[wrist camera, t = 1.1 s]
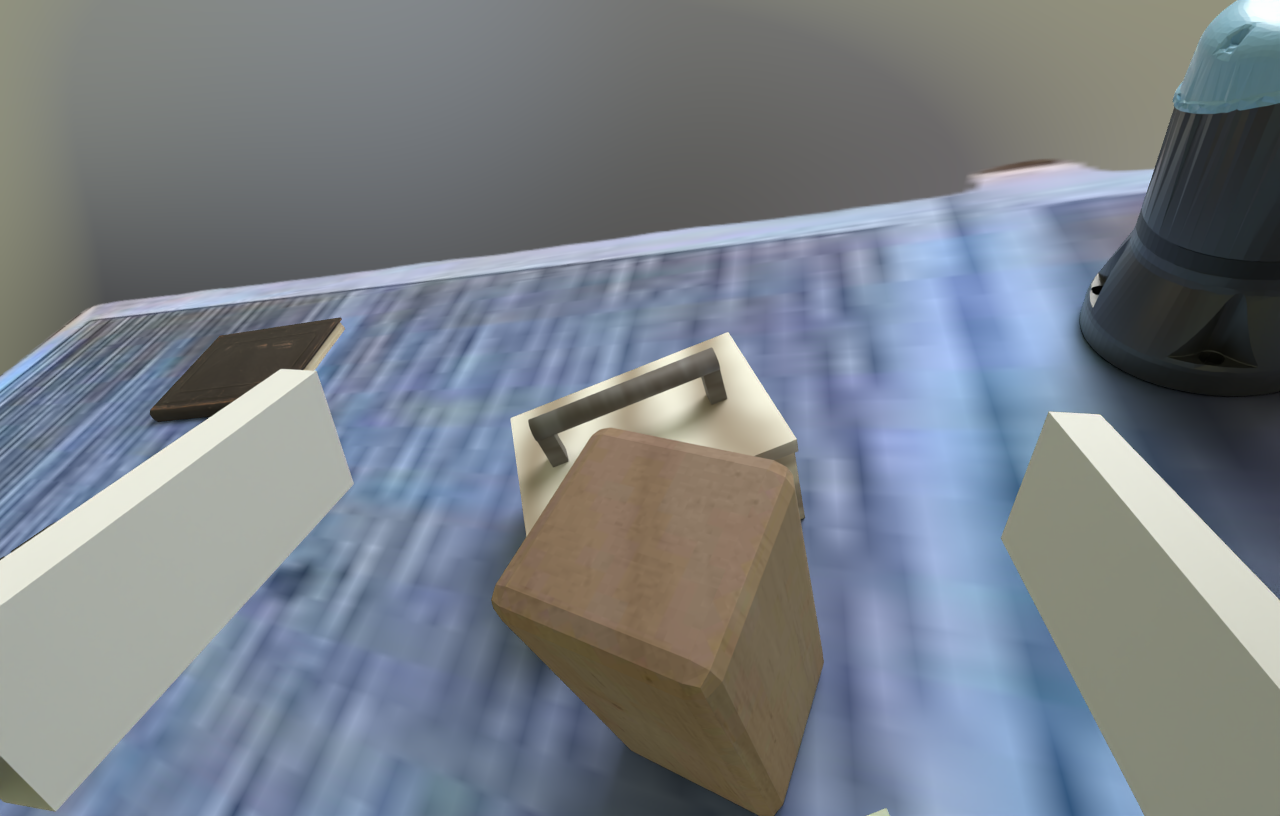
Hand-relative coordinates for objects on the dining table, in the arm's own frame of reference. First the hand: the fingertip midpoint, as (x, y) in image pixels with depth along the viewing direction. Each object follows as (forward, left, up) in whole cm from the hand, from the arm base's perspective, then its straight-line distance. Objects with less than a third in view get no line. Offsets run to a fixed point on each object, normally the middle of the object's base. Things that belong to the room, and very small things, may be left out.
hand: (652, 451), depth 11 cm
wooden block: (+2, -7, -31) cm, 32 cm away
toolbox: (+1, -23, -31) cm, 38 cm away
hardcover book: (+49, -70, -32) cm, 91 cm away
